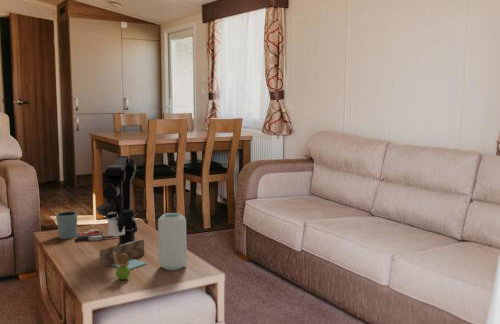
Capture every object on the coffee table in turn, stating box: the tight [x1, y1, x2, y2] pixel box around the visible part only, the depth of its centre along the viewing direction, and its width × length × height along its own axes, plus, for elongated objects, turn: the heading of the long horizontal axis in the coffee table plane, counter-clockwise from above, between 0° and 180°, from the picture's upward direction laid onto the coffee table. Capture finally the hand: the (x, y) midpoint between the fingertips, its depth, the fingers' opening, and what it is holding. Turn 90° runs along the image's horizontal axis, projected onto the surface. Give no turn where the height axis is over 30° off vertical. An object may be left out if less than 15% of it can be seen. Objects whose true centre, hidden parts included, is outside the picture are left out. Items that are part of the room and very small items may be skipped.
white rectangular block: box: [107, 217, 125, 238], centre depth 219 cm, size 5×5×7 cm
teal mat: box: [111, 258, 147, 271], centre depth 213 cm, size 10×10×1 cm
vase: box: [157, 212, 188, 271], centre depth 209 cm, size 12×12×22 cm
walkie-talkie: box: [75, 228, 119, 242], centre depth 252 cm, size 9×4×20 cm
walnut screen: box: [99, 238, 145, 268], centre depth 218 cm, size 22×2×7 cm, turn 141°
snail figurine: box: [113, 249, 131, 281], centre depth 196 cm, size 5×6×12 cm
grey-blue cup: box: [55, 210, 78, 240], centre depth 254 cm, size 10×10×12 cm
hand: (116, 231), depth 219 cm, fingers closed on white rectangular block, 5 cm apart
